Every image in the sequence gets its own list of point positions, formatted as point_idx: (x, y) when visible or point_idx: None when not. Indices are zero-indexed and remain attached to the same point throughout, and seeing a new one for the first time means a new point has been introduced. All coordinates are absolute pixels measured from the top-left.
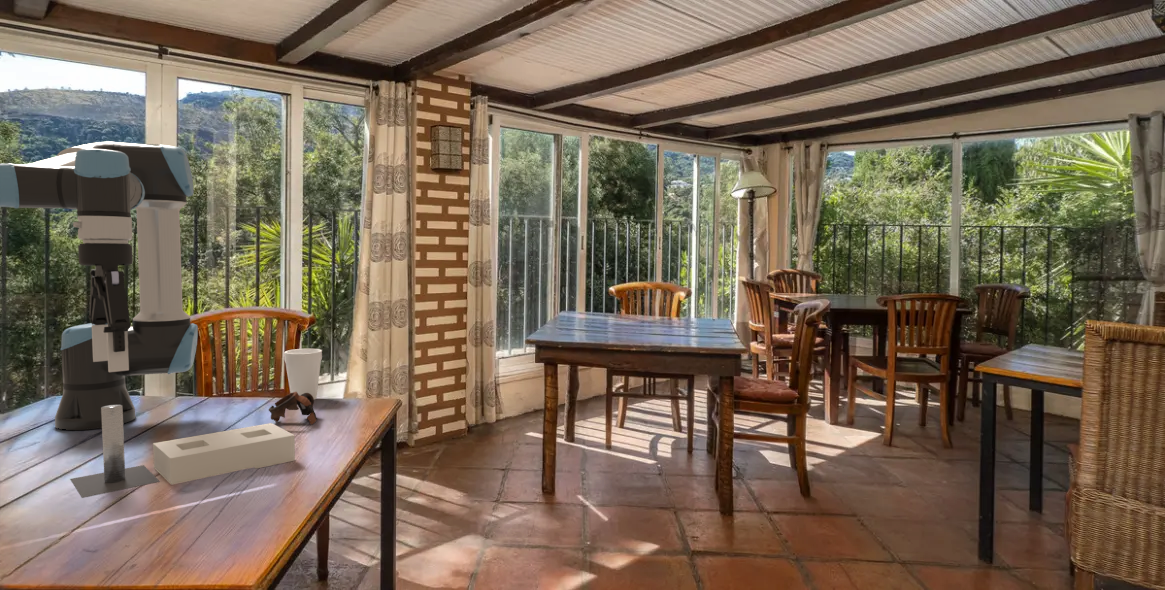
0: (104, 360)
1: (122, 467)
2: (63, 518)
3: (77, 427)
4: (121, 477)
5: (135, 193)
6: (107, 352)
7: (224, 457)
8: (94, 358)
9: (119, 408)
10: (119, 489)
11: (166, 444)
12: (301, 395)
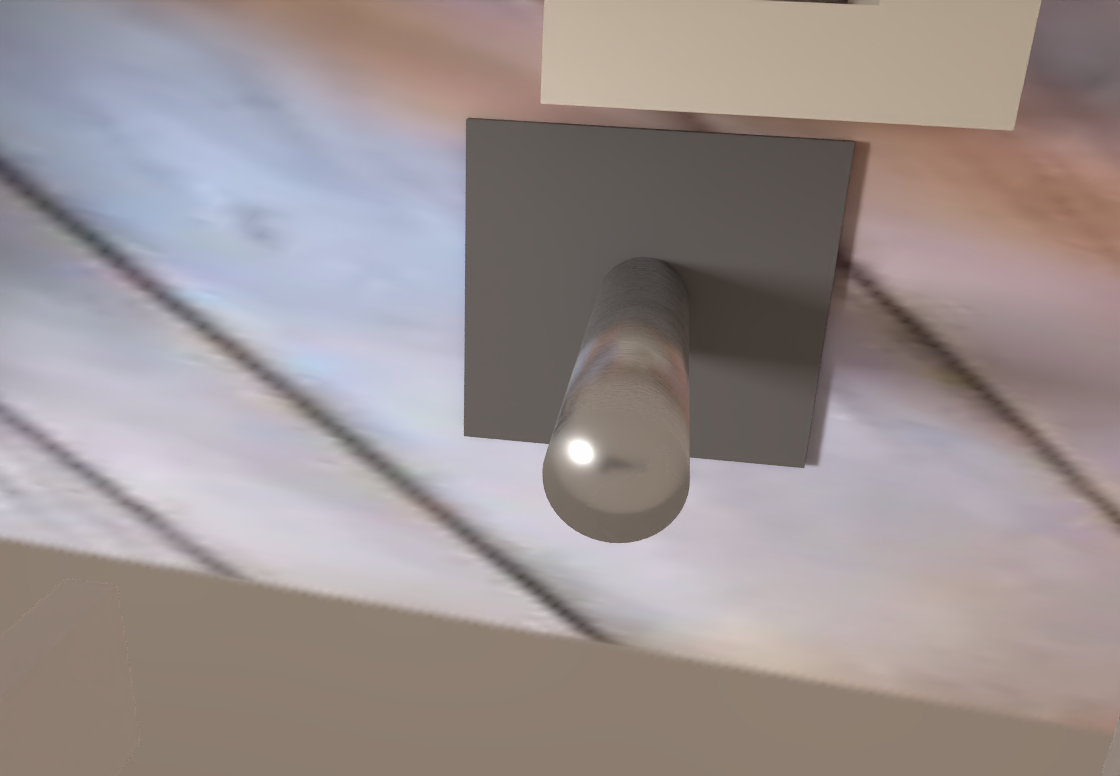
0: (121, 657)
1: (681, 295)
2: (989, 563)
3: None
4: (684, 287)
5: None
6: (57, 697)
7: None
8: (117, 768)
9: (676, 439)
10: (818, 325)
11: (641, 44)
12: None
